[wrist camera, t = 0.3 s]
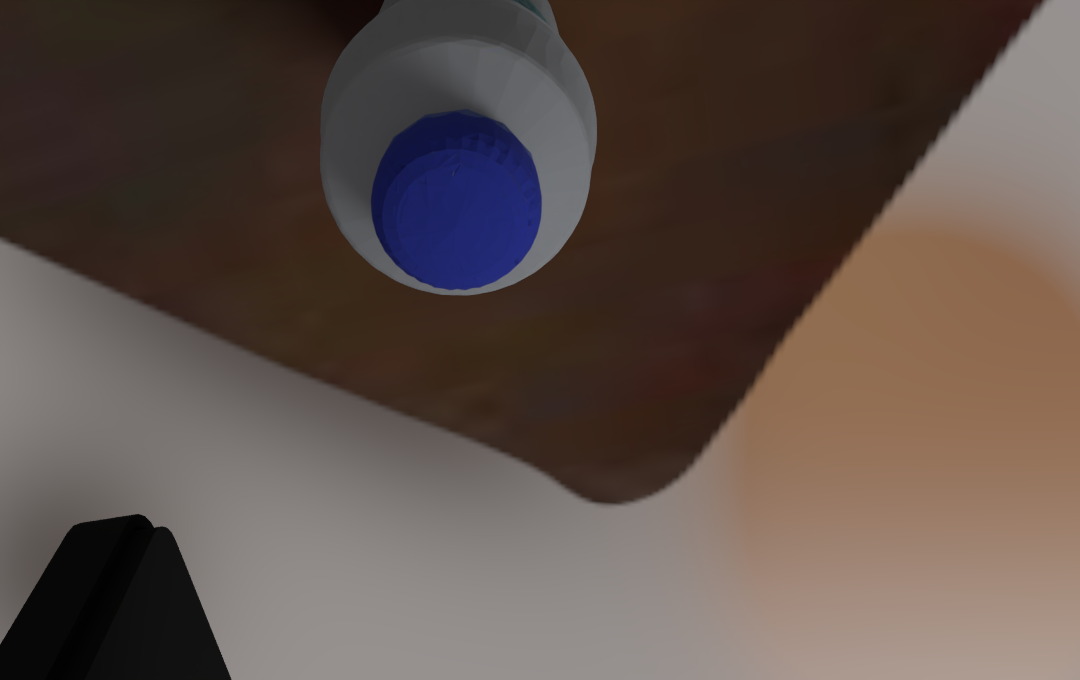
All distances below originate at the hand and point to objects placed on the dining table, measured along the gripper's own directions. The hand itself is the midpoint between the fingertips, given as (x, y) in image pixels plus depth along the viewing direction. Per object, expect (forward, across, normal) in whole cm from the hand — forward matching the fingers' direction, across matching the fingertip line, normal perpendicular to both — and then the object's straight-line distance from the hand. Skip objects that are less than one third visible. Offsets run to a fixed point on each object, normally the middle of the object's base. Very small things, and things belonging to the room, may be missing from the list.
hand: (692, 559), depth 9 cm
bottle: (+31, +3, 0) cm, 31 cm away
